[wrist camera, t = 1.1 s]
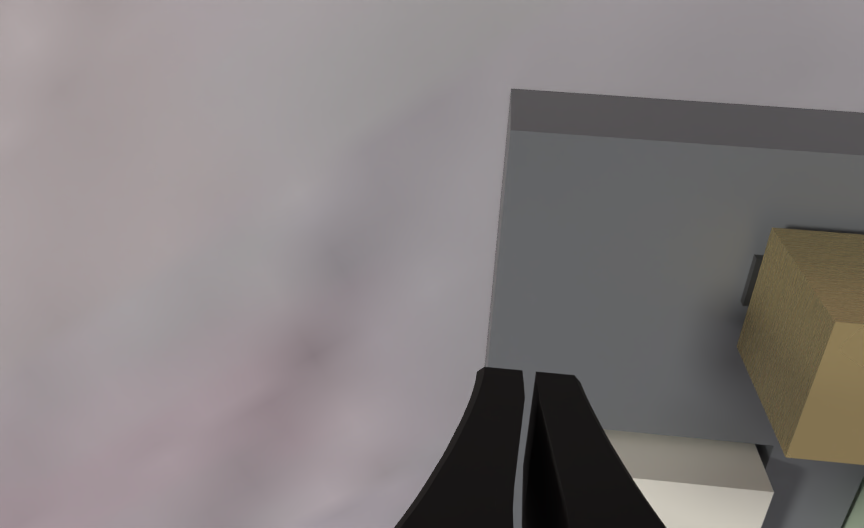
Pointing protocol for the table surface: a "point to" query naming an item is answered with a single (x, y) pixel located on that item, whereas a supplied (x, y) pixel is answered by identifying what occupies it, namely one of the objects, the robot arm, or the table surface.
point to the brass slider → (810, 343)
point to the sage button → (856, 510)
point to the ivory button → (697, 479)
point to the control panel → (664, 263)
